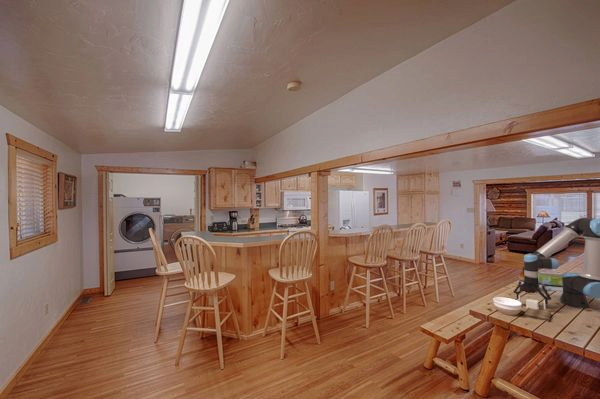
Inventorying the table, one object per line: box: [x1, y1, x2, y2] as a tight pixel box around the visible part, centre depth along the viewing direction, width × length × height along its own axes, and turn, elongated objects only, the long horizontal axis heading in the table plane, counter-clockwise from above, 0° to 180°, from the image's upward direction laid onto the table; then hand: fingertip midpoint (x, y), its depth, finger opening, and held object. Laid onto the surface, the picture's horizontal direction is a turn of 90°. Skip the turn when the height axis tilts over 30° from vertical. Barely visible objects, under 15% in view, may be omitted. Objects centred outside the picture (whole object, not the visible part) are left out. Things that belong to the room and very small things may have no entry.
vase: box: [518, 266, 537, 294], centre depth 224 cm, size 11×11×20 cm
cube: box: [525, 298, 540, 310], centre depth 188 cm, size 6×6×6 cm
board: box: [524, 308, 552, 323], centre depth 177 cm, size 12×14×2 cm
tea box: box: [538, 270, 563, 293], centre depth 227 cm, size 15×10×15 cm, turn 68°
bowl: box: [492, 296, 523, 317], centre depth 184 cm, size 16×16×8 cm
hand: (531, 306), depth 188 cm, fingers open, 13 cm apart
